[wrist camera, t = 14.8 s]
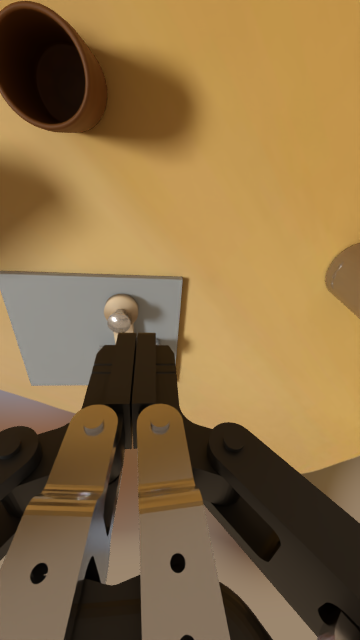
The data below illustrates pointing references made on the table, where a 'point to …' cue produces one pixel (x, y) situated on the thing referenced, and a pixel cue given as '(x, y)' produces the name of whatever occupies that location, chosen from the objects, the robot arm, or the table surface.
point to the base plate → (81, 318)
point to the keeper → (120, 323)
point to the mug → (48, 70)
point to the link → (122, 303)
